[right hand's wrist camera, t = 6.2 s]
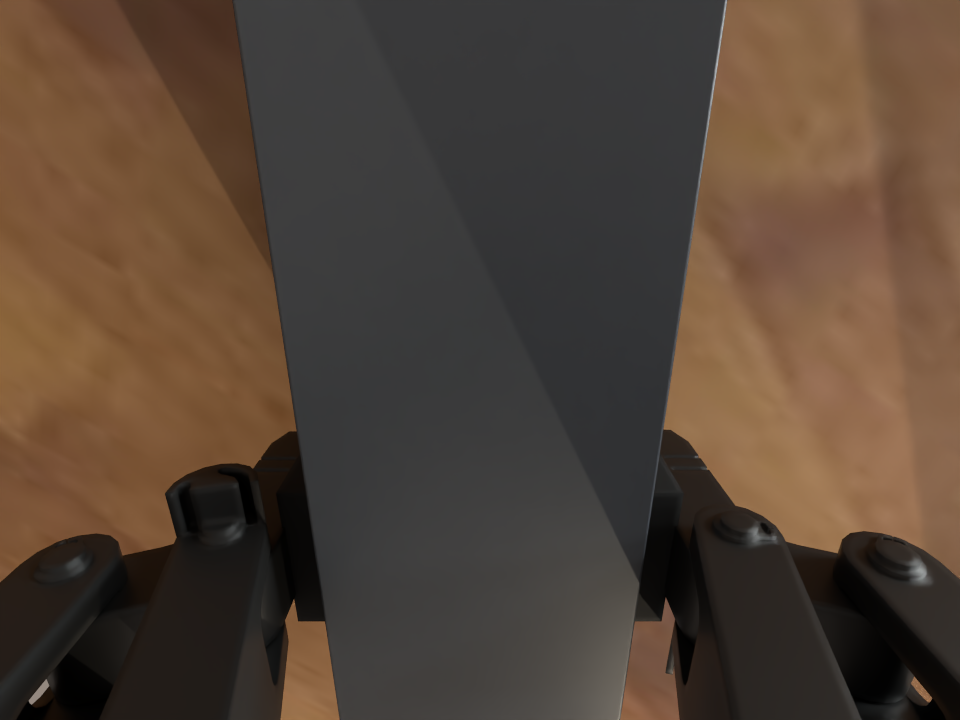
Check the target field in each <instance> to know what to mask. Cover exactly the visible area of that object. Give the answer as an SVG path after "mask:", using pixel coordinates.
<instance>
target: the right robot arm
mask: <svg viewBox="0 0 960 720" xmlns="http://www.w3.org/2000/svg"><path fill="white" fill-rule="evenodd" d="M165 496H166V499H167V503H168V507H169V510H170V514H171V518H172V521H173V525H174V529H175V533H176V536H177V538H176V540H175V543H174V544H172V545H168V546H165V547H161V548H156V549H152V550H147V551H142V552H138V553H133V554H128V555H124V556H122V553H121V549H120V546H119V543H118V541H116V540H115V539H114V538H113V537H111V536H109V535H103V534H89V535H81V536H76V537H72V538H69V539H65V540H62V541H59V542H57V543H55V544H53V545H51V546H49V547H47V548H45V549H43V550H41V551H39V552H37V553H36V554H34V555H33V556H31V557H30V558H29V559H27V560H26V561H25V562H23V563H22V564H20V565H19V566H18V567H17V568H16V569H15V570H14V571H13V572H11V573H10V574H9V575H8V576H7V577H6V578H5V579H4V580H3V581H1V582H0V720H280V718H281V709H282V699H283V689H284V680H285V670H286V661H287V651H288V635H287V629H286V623H285V619H286V617H287V614H288V612H289V609H290V607H291V605H292V602H293V600H295V605H296V611H297V617H298V621H325V617H324V610H323V604H322V597H321V590H320V583H319V577H318V570H317V563H316V557H315V550H314V543H313V537H312V530H311V523H310V516H309V510H308V503H307V496H306V490H305V483H304V476H303V470H302V463H301V456H300V449H299V443H298V436H297V432H288V433H287V434H285V435H284V436H282V437H281V438H279V439H278V440H276V441H275V442H273V443H272V444H271V445H270V446H269V448H268V449H267V450H266V452H265V453H264V455H263V456H262V459H261V460H259V461H258V463H257V464H256V466H255V467H254V468H253V469H252V468H251V467H250V466H246V465H242V464H219V465H214V466H210V467H205V468H202V469H200V470H197V471H195V472H192V473H190V474H187V475H186V476H184V477H183V478H181V479H180V480H178V481H176V482H175V483H173V485H172V486H171V487H170V488H169V489H168V490H167V492H166V493H165ZM665 598H667V601H668V603H669V605H670V608H671V610H672V612H673V615H674V617H675V623H674V629H673V634H672V639H671V645H670V650H669V655H668V661H667V667H666V673H668V674H673V669H675V679H676V688H677V698H678V707H679V717H680V720H960V579H959V578H957V577H956V576H955V575H954V574H953V573H952V572H951V571H950V570H949V569H947V568H946V567H945V566H944V565H943V564H942V563H941V562H939V561H938V560H937V559H935V558H934V557H932V556H931V555H930V554H928V553H927V552H925V551H924V550H922V549H920V548H918V547H916V546H914V545H912V544H910V543H908V542H906V541H905V540H902V539H899V538H897V537H892V536H890V535H886V534H882V533H874V532H866V531H863V532H856V533H850V534H849V535H847V536H846V537H845V538H844V539H842V542H841V545H840V548H839V551H838V553H833V552H828V551H823V550H819V549H814V548H809V547H804V546H800V545H796V544H792V543H789V542H785V539H784V537H783V536H782V534H781V533H780V531H779V530H778V529H777V527H776V526H775V525H774V524H772V523H771V522H770V521H768V520H767V519H766V518H764V517H763V516H761V515H759V514H757V513H755V512H753V511H750V510H748V509H746V508H742V507H738V506H735V505H734V503H733V502H732V501H731V499H730V498H729V497H728V495H727V494H726V493H725V491H724V490H723V488H722V487H721V486H720V484H719V483H718V482H717V480H716V479H715V478H714V476H713V475H712V473H711V472H710V471H709V470H707V467H706V465H705V464H704V462H703V461H702V460H701V458H698V454H697V453H696V452H695V450H694V449H693V447H692V446H691V445H690V443H689V442H688V441H686V440H685V439H683V438H682V437H680V436H679V435H677V434H676V433H674V432H673V431H671V430H663V435H662V441H661V448H660V455H659V461H658V468H657V475H656V481H655V488H654V495H653V502H652V508H651V515H650V522H649V528H648V535H647V542H646V549H645V555H644V562H643V569H642V575H641V582H640V589H639V596H638V602H637V609H636V616H635V621H662V615H663V609H664V603H665ZM914 676H915V678H916V679H917V680H918V681H919V682H920V684H921V685H922V686H923V687H924V688H925V690H926V691H927V692H928V693H929V694H930V696H931V697H932V700H931V702H930V703H928V702H927V701H926V700H925V699H924V698H923V697H922V696H921V695H920V694H919V693H918V692H917V691H916V689H915V688H914V687H913V686H912V684H911V682H912V680H913V678H914ZM46 679H47V681H48V683H49V687H48V688H47V690H46V691H45V692H44V693H43V695H42V696H41V697H40V698H39V699H38V700H37V701H36V702H34V703H33V704H32V705H31V704H30V703H29V701H28V700H29V699H30V698H31V697H32V696H33V694H34V693H35V692H36V691H37V689H38V688H39V687H40V686H41V685H42V683H43V682H44V681H45V680H46Z"/></svg>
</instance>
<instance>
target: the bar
mask: <svg viewBox="0 0 960 720" xmlns="http://www.w3.org/2000/svg"><path fill="white" fill-rule="evenodd" d="M232 1H233V7H234V14H235V21H236V27H237V34H238V41H239V47H240V54H241V61H242V68H243V74H244V81H245V88H246V94H247V101H248V108H249V114H250V121H251V128H252V135H253V141H254V148H255V155H256V161H257V168H258V175H259V181H260V188H261V195H262V202H263V208H264V215H265V222H266V228H267V235H268V242H269V248H270V255H271V262H272V269H273V275H274V282H275V289H276V295H277V302H278V309H279V315H280V322H281V329H282V336H283V342H284V349H285V356H286V362H287V369H288V376H289V382H290V389H291V396H292V403H293V409H294V416H295V423H296V429H297V436H298V443H299V449H300V456H301V463H302V470H303V476H304V483H305V490H306V496H307V503H308V510H309V516H310V523H311V530H312V537H313V543H314V550H315V557H316V563H317V570H318V577H319V583H320V590H321V597H322V604H323V610H324V617H325V624H326V630H327V637H328V644H329V650H330V657H331V664H332V671H333V677H334V684H335V691H336V697H337V704H338V711H339V717H340V720H620V716H621V710H622V703H623V696H624V689H625V683H626V676H627V669H628V663H629V656H630V649H631V642H632V636H633V629H634V622H635V616H636V609H637V602H638V596H639V589H640V582H641V575H642V569H643V562H644V555H645V549H646V542H647V535H648V528H649V522H650V515H651V508H652V502H653V495H654V488H655V481H656V475H657V468H658V461H659V455H660V448H661V441H662V435H663V428H664V421H665V414H666V408H667V401H668V394H669V388H670V381H671V374H672V367H673V361H674V354H675V347H676V341H677V334H678V327H679V320H680V314H681V307H682V300H683V294H684V287H685V280H686V273H687V267H688V260H689V253H690V247H691V240H692V233H693V227H694V220H695V213H696V206H697V200H698V193H699V186H700V180H701V173H702V166H703V159H704V153H705V146H706V139H707V133H708V126H709V119H710V112H711V106H712V99H713V92H714V86H715V79H716V72H717V66H718V59H719V52H720V45H721V39H722V32H723V25H724V19H725V12H726V5H727V0H232Z"/></svg>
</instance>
